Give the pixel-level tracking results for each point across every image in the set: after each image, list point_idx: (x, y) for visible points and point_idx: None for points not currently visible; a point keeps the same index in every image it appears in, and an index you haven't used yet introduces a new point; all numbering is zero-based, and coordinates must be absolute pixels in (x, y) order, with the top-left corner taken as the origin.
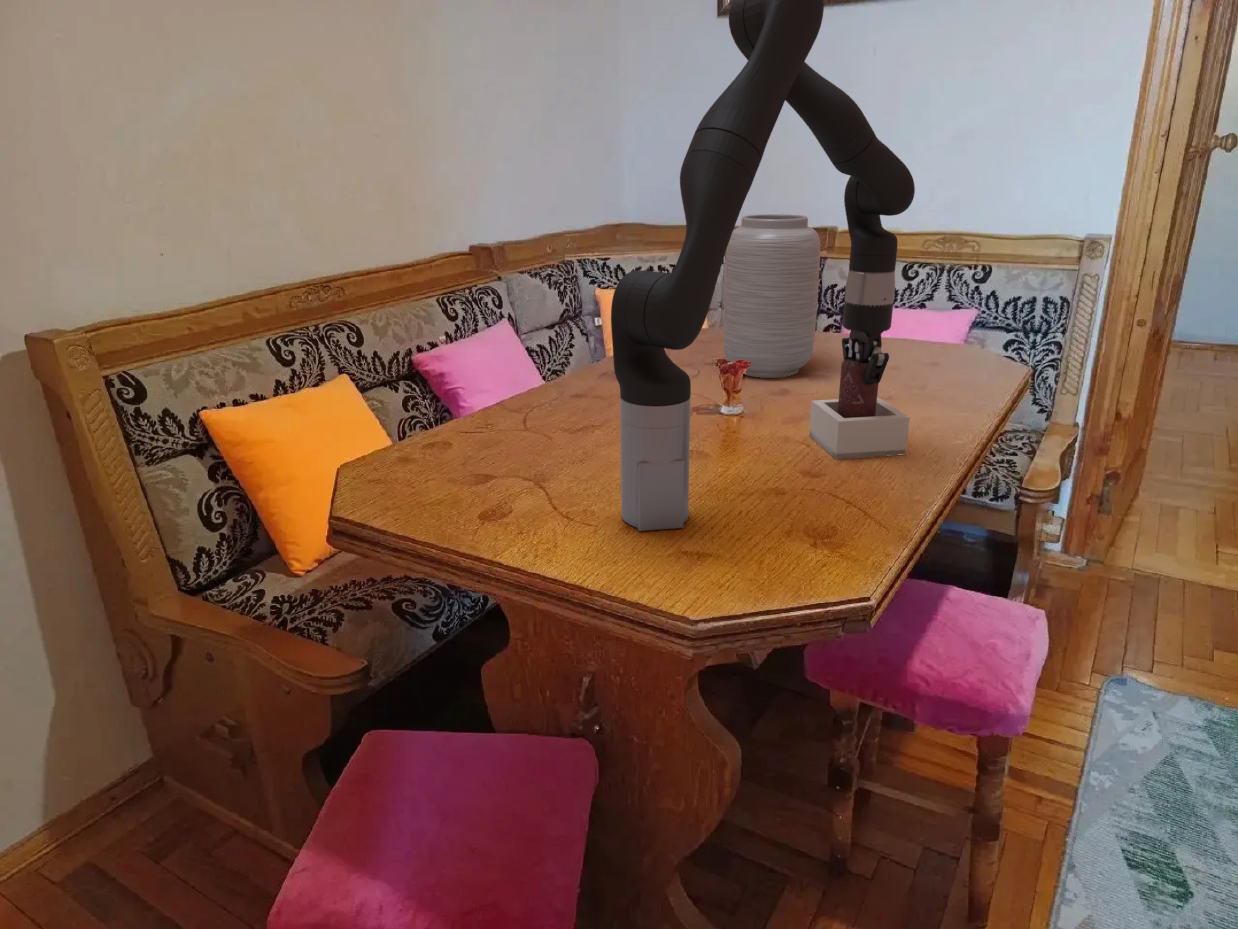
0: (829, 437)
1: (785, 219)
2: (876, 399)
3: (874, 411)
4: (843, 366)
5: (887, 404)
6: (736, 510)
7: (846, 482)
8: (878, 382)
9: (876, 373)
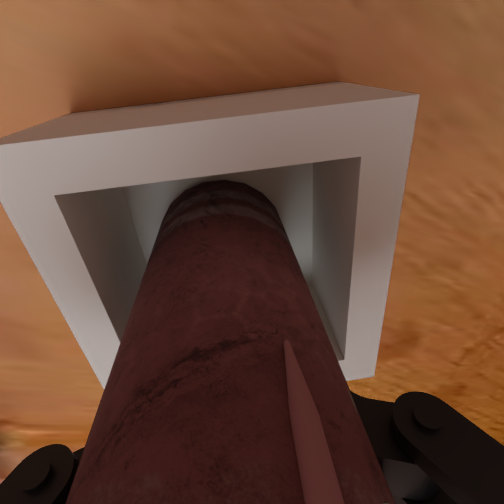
0: None
1: None
2: (274, 269)
3: (282, 246)
4: None
5: (150, 140)
6: (485, 432)
7: (465, 295)
8: (434, 402)
9: (452, 490)
